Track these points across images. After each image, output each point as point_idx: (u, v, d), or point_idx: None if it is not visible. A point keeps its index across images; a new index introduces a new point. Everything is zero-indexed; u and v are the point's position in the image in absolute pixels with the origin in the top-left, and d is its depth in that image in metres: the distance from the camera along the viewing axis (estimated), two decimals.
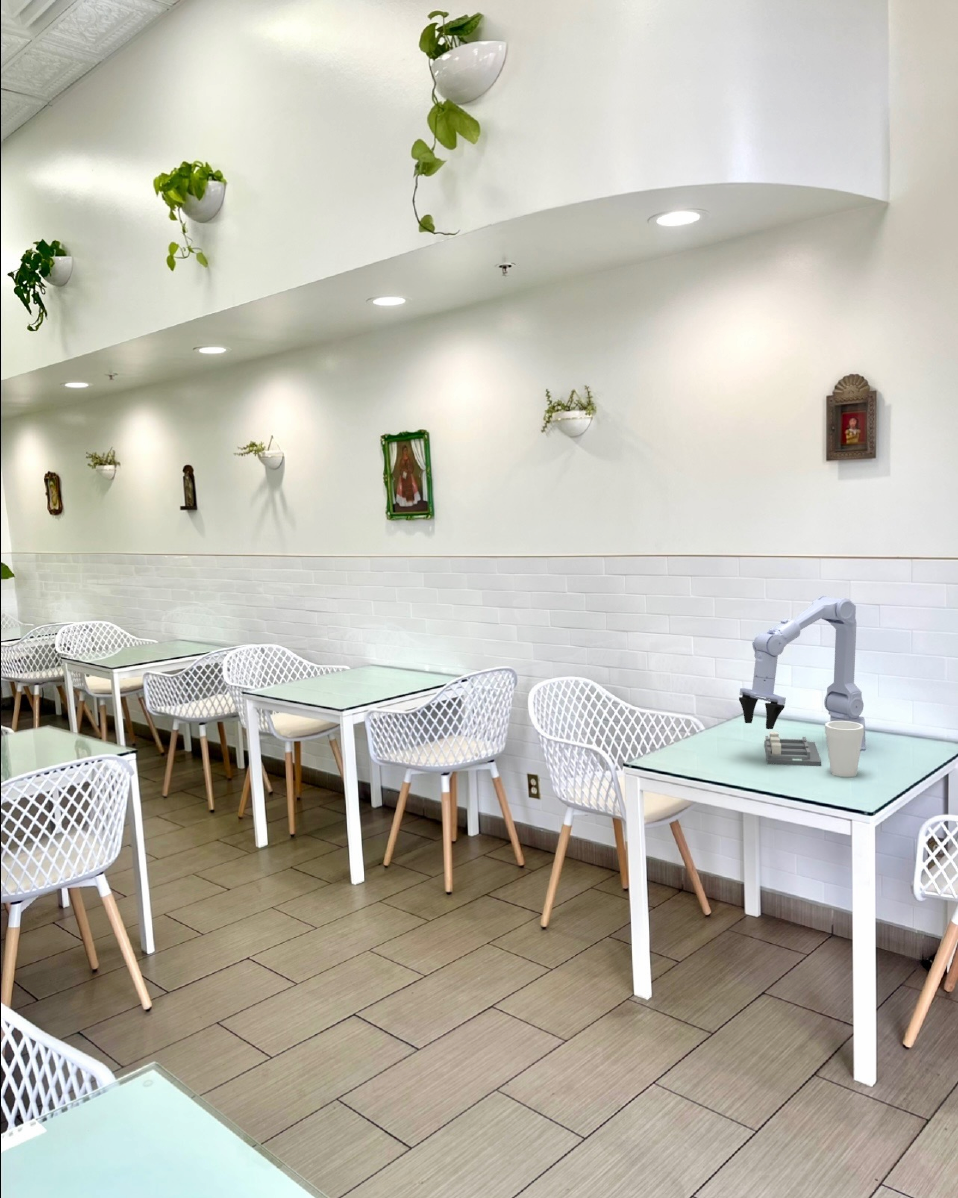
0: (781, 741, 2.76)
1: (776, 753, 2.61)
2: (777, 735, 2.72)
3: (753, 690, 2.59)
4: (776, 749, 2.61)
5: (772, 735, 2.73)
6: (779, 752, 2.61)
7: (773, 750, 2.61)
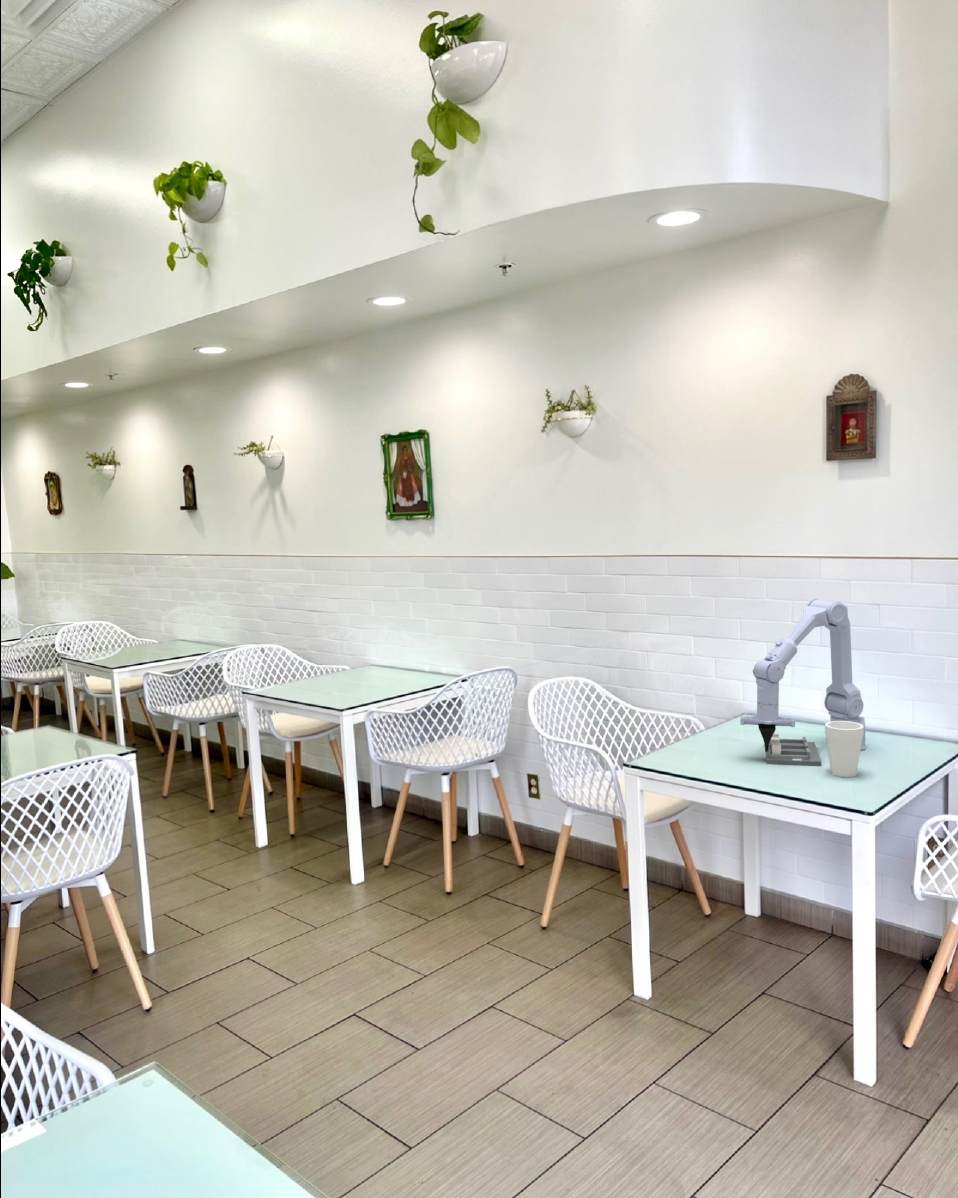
0: (781, 741, 2.76)
1: (776, 753, 2.61)
2: (777, 735, 2.72)
3: (764, 718, 2.60)
4: (776, 749, 2.61)
5: None
6: (779, 752, 2.61)
7: (773, 750, 2.61)
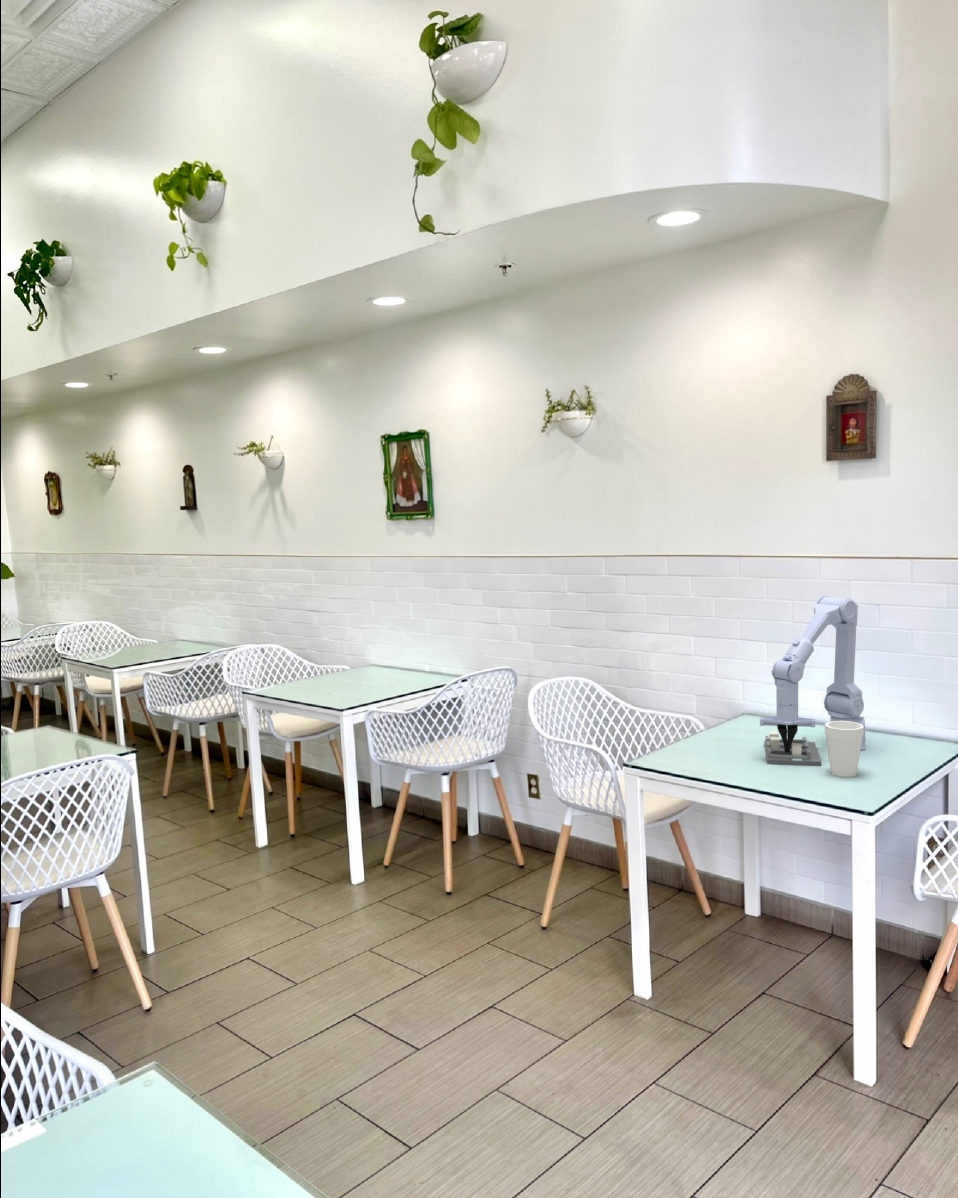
0: (781, 741, 2.76)
1: (796, 754, 2.60)
2: (777, 735, 2.72)
3: (784, 719, 2.58)
4: (797, 750, 2.60)
5: (772, 735, 2.73)
6: (799, 753, 2.60)
7: (793, 751, 2.60)
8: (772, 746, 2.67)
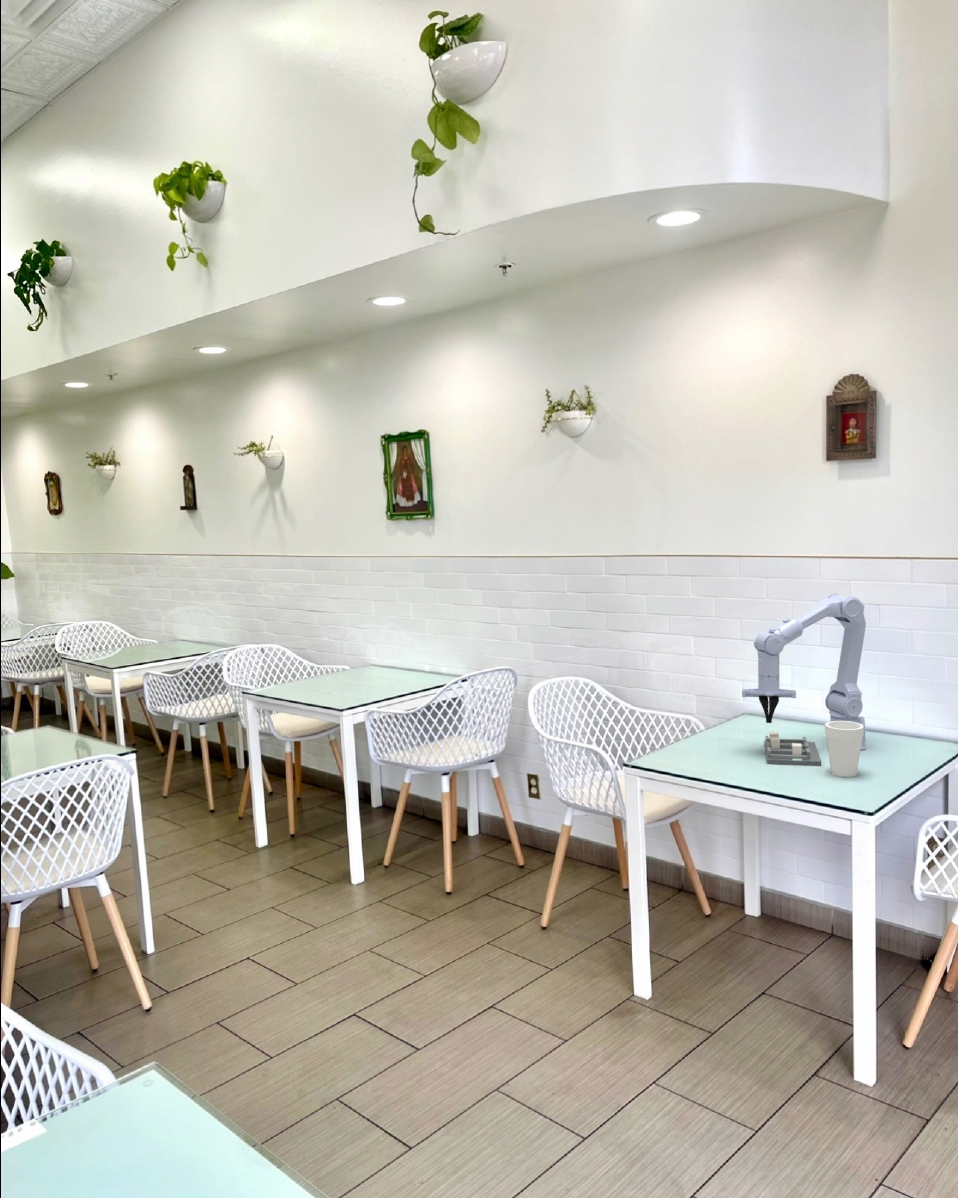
0: (781, 741, 2.76)
1: (797, 754, 2.60)
2: (777, 735, 2.72)
3: (765, 690, 2.64)
4: (797, 750, 2.60)
5: (772, 735, 2.73)
6: (800, 753, 2.60)
7: (794, 751, 2.60)
8: (772, 746, 2.67)
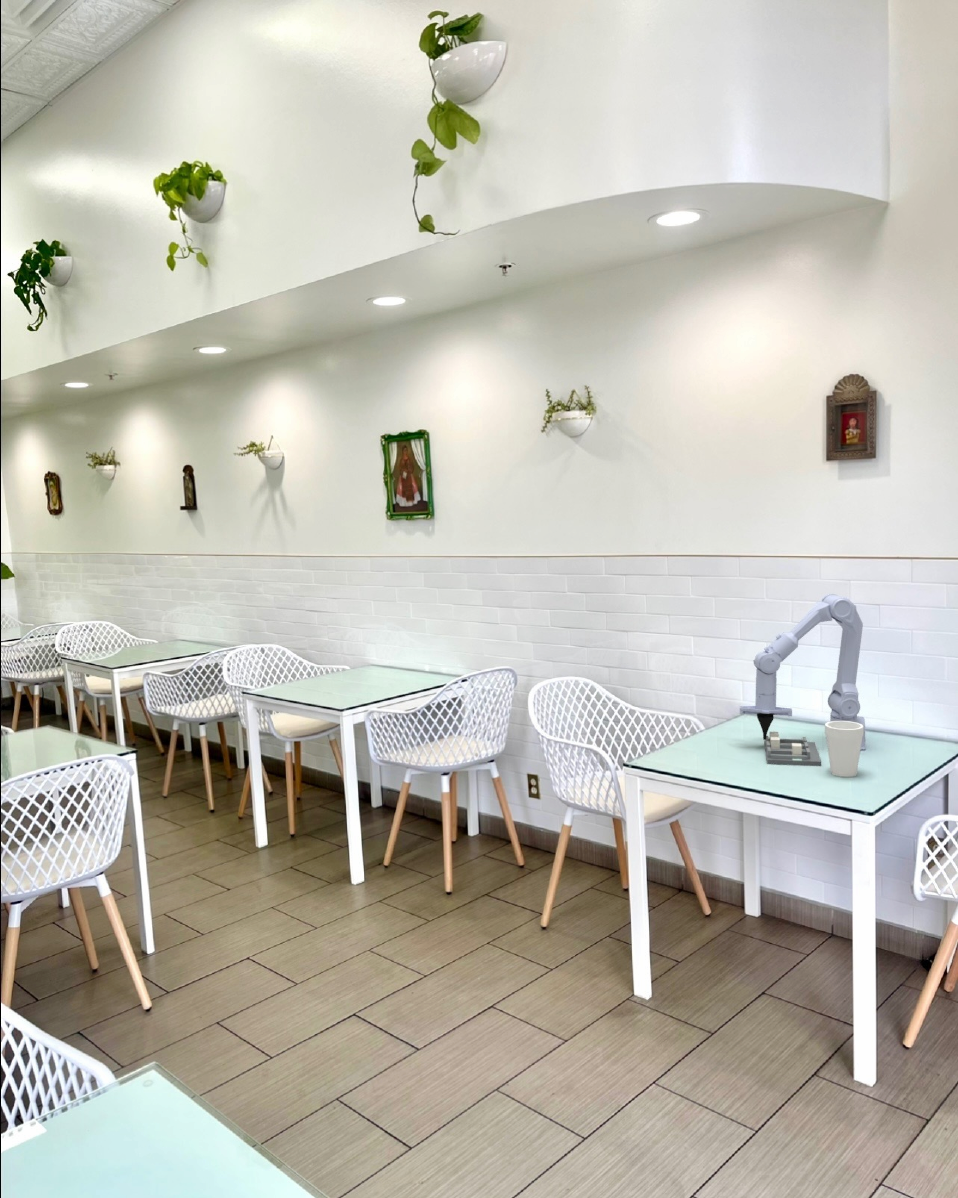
0: (781, 741, 2.76)
1: (797, 754, 2.60)
2: (777, 735, 2.72)
3: (762, 708, 2.71)
4: (797, 750, 2.60)
5: (772, 735, 2.73)
6: (800, 753, 2.60)
7: (794, 751, 2.60)
8: (772, 746, 2.67)
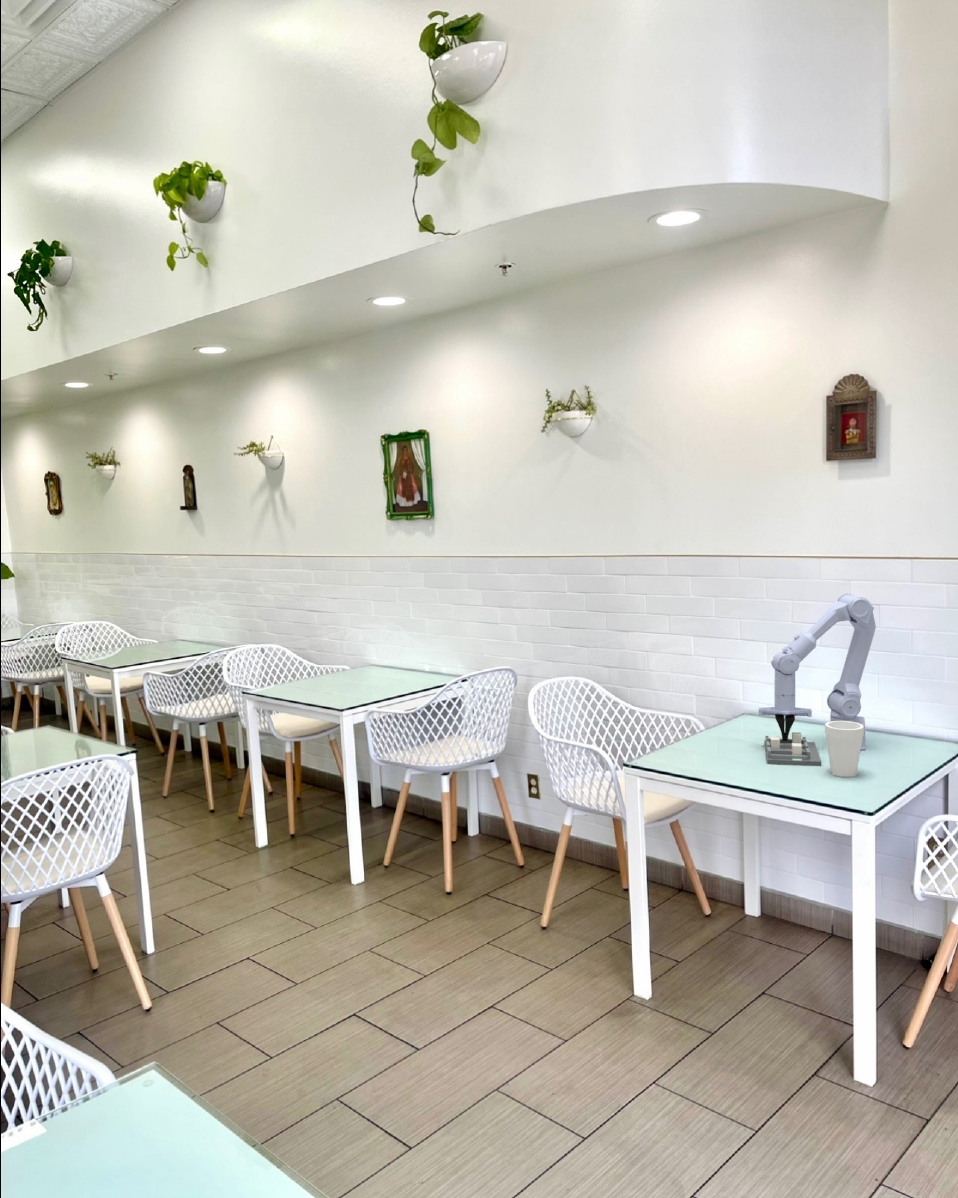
0: (781, 741, 2.76)
1: (797, 754, 2.60)
2: (800, 736, 2.71)
3: (782, 709, 2.70)
4: (797, 750, 2.60)
5: (794, 735, 2.71)
6: (800, 753, 2.60)
7: (794, 751, 2.60)
8: (772, 746, 2.67)
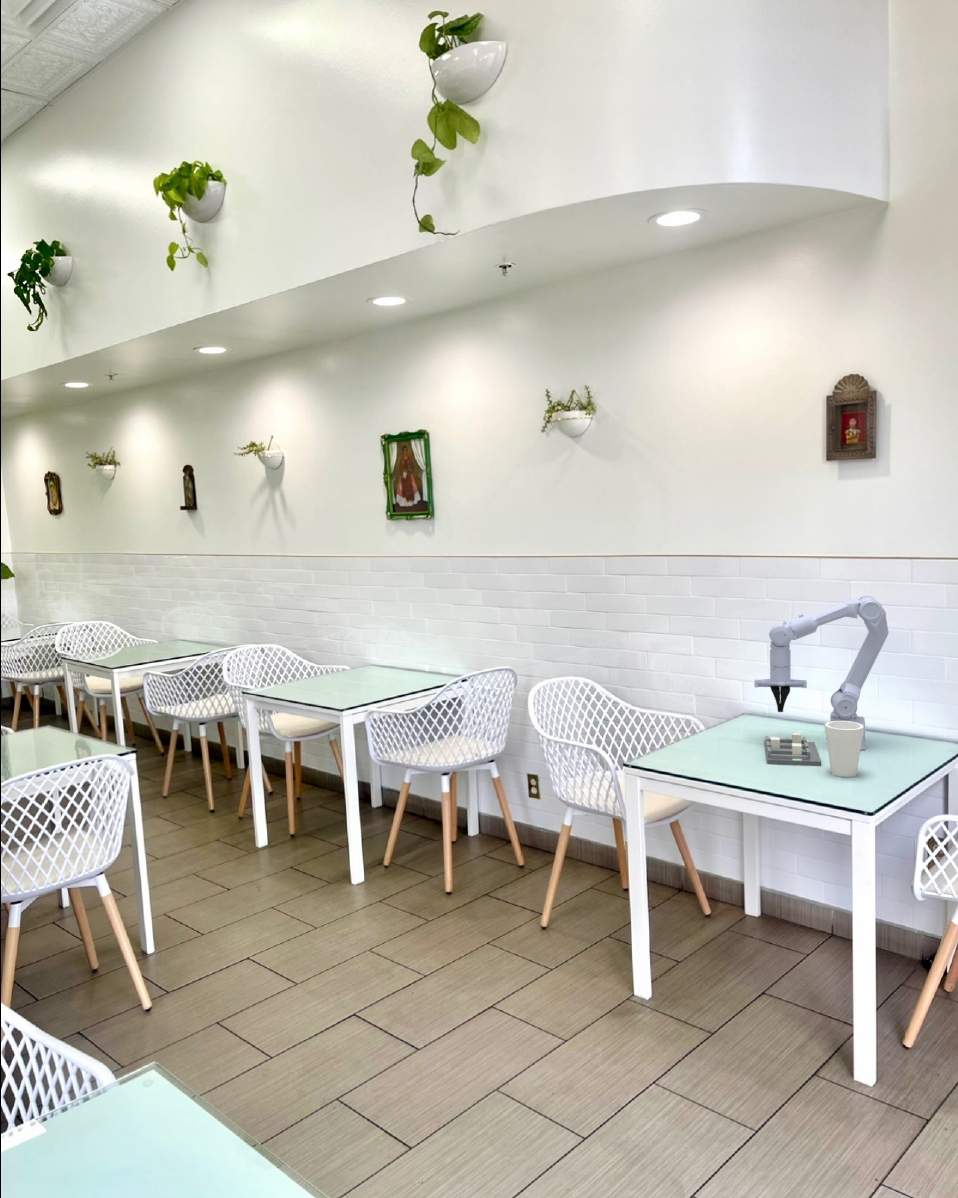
0: (781, 741, 2.76)
1: (797, 754, 2.60)
2: (800, 736, 2.71)
3: (777, 680, 2.74)
4: (797, 750, 2.60)
5: (794, 735, 2.71)
6: (800, 753, 2.60)
7: (794, 751, 2.60)
8: (772, 746, 2.67)
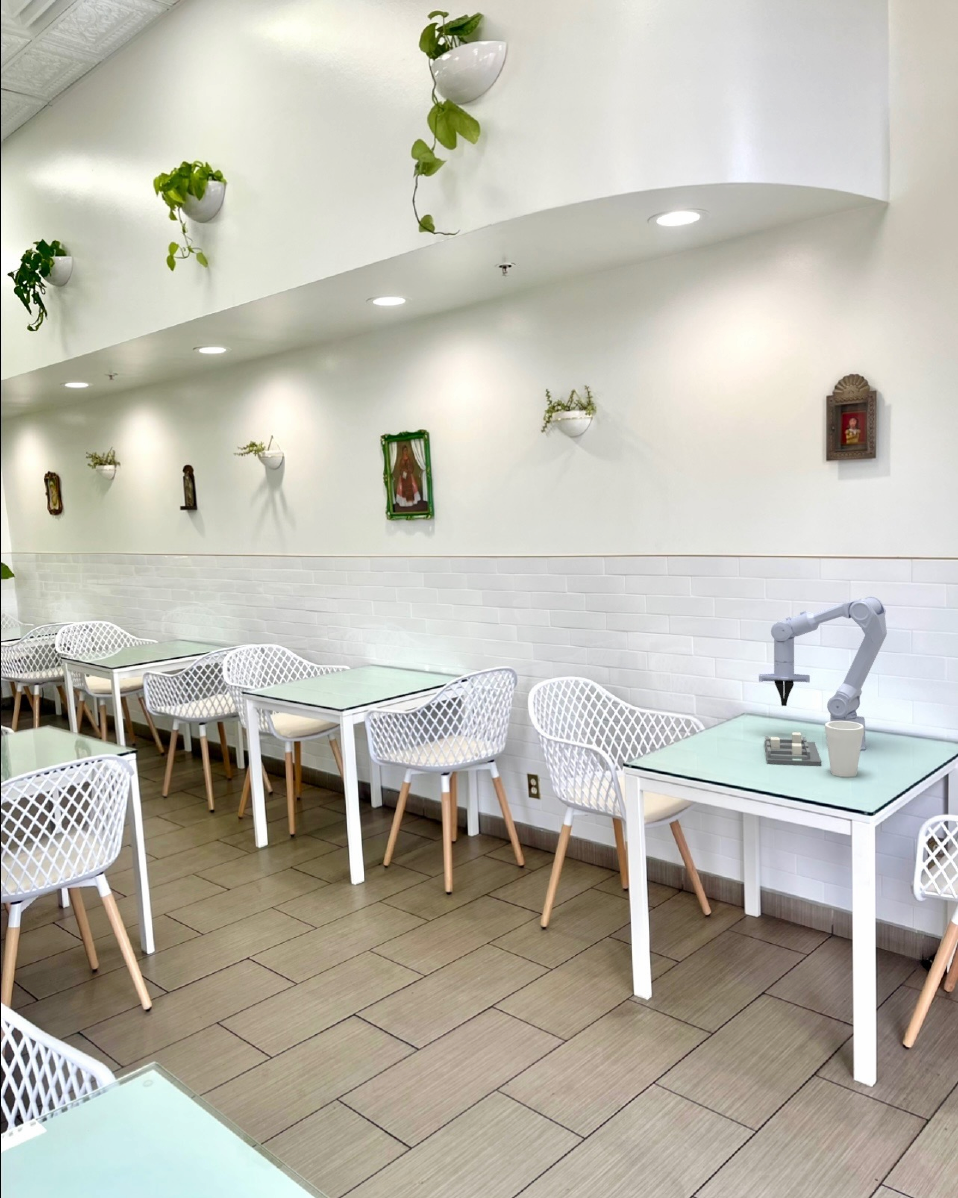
0: (781, 741, 2.76)
1: (797, 754, 2.60)
2: (800, 736, 2.71)
3: (781, 675, 2.81)
4: (797, 750, 2.60)
5: (794, 735, 2.71)
6: (800, 753, 2.60)
7: (794, 751, 2.60)
8: (772, 746, 2.67)
